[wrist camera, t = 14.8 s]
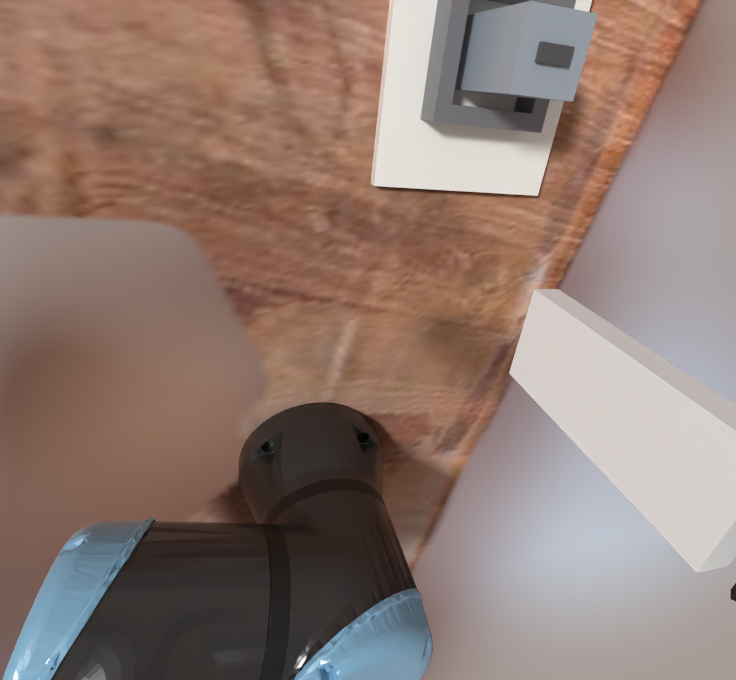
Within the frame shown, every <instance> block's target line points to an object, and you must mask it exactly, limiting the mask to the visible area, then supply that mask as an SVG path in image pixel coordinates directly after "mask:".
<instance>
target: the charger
mask: <svg viewBox="0 0 736 680" xmlns="http://www.w3.org/2000/svg"><path fill="white" fill-rule="evenodd" d="M597 16H598V14H596V13H591V12H586V11H581V10H576V9H571V8H566V7H561V6H555V5H550V4H545V3H540V2H535V1H527V2H523V3H518V4H514V5H510V6H505V7H501V8H497V9H492V10H488V11H484V12H479V13H475V14H471V15H467V21H466V26H465V32H464V38H463V44H462V49H461V55H460V61H459V67H458V72H457V78H456V84H455V90H462V91H470V92H478V93H486V94H494V95H502V96H512V97H523V98H535V99H546V100H558V101H569V102H573V100H574V96H575V93H576V89H577V86H578V82H579V79H580V75H581V72H582V68H583V65H584V61H585V58H586V54H587V51H588V47H589V44H590V40H591V37H592V33H593V30H594V26H595V23H596V19H597Z"/></svg>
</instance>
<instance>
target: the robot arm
mask: <svg viewBox="0 0 736 680" xmlns="http://www.w3.org/2000/svg"><path fill="white" fill-rule="evenodd" d="M509 374H510V375H511V376H512V377H513V378H514V379H515V380H516V381H517V382H518V383H519V384H520V385H521V386H522V387H523V388H524V389H525V391H526V392H527V393H528V394H529V395H530V396H531V397H532V398H533V399H534V400H535V401H536V402H537V403H538V404H539V405H540V407H541V408H542V409H543V410H544V411H545V412H546V413H547V414H548V415H549V416H550V417H551V418H552V419H553V420H554V421H555V422H556V423H557V425H559V427H560V428H561V429H562V430H563V431H564V432H565V433H566V434H567V435H568V436H569V437H570V438H571V439H572V441H573V442H574V443H575V444H576V445H577V446H578V447H579V448H580V449H581V450H582V451H583V452H584V453H585V454H586V455H587V456H588V458H590V459H591V461H592V462H593V463H594V464H595V465H596V466H597V467H598V468H599V469H600V470H601V471H602V472H603V473H604V475H606V477H607V478H608V479H609V480H610V481H611V482H612V483H613V484H614V485H615V486H616V487H617V488H618V489H619V490H620V491H621V492H622V494H623V495H624V496H625V497H626V498H627V499H628V500H629V501H630V502H631V503H632V504H633V505H634V506H635V507H636V508H637V509H638V511H639V512H640V513H641V514H642V515H643V516H644V517H645V518H646V519H647V520H648V521H649V522H650V523H651V524H652V526H654V528H655V529H656V530H657V531H658V532H659V533H660V534H661V535H662V536H663V537H664V538H665V539H666V540H667V541H668V543H669V544H670V545H671V546H672V547H673V548H674V549H675V550H676V551H677V552H678V553H679V554H680V555H681V556H682V557H683V558H684V560H685V561H687V563H688V564H689V565H690V566H691V567H692V568H693V569H694V570H695V571H696V572H697V573H699V572H703V571H708V570H712V569H716V568H720V567H725V566H728V565H729V564H730V562H731V561H732V560H733V559H734V557H735V556H736V405H734V404H733V403H731V402H730V401H728V400H727V399H725V398H724V397H722V396H721V395H719V394H717V393H716V392H714V391H713V390H711V389H710V388H708V387H707V386H705V385H704V384H702V383H701V382H699V381H698V380H696V379H694V378H693V377H692V376H690V375H688V374H687V373H685V372H684V371H682V370H681V369H679V368H678V367H676V366H675V365H673V364H672V363H670V362H669V361H667V360H665V359H664V358H662V357H661V356H659V355H658V354H656V353H655V352H653V351H652V350H650V349H649V348H647V347H646V346H644V345H642V344H641V343H639V342H638V341H636V340H635V339H633V338H632V337H630V336H629V335H627V334H626V333H624V332H623V331H621V330H620V329H618V328H617V327H615V326H613V325H612V324H610V323H609V322H607V321H606V320H604V319H603V318H601V317H600V316H598V315H597V314H595V313H594V312H592V311H590V310H589V309H588V308H586V307H584V306H583V305H581V304H580V303H578V302H577V301H575V300H574V299H572V298H571V297H569V296H568V295H566V294H564V293H563V292H562V291H560V290H558V289H535V290H534V293H533V296H532V299H531V303H530V306H529V309H528V313H527V316H526V319H525V322H524V326H523V329H522V332H521V336H520V339H519V342H518V345H517V349H516V352H515V355H514V359H513V362H512V365H511V368H510V372H509ZM239 484H240V489H241V492H242V495H243V498H244V500H245V502H246V504H247V505H248V507H249V509H250V511H251V513H252V515H253V517H254V519H255V521H256V523H200V522H164V521H163V522H162V521H155V518H147V519H146V520H143V521H108V522H97V523H93V524H90V525H88V526H86V527H84V528H82V529H80V530H79V531H78V532H76V533H75V534H74V535H73V536H72V537H71V538H70V539H69V540H68V542H67V543H66V544H65V546H64V547H63V549H62V550H61V552H60V553H59V555H58V556H57V558H56V560H55V562H54V563H53V565H52V567H51V569H50V571H49V573H48V575H47V577H46V579H45V581H44V583H43V585H42V587H41V589H40V591H39V593H38V595H37V598H36V600H35V602H34V604H33V606H32V608H31V610H30V613H29V615H28V617H27V620H26V622H25V624H24V627H23V629H22V631H21V634H20V636H19V638H18V641H17V643H16V646H15V648H14V651H13V653H12V656H11V659H10V661H9V664H8V666H7V669H6V672H5V674H4V677H3V680H421V679H422V677H423V676H424V674H425V672H426V670H427V668H428V666H429V664H430V660H431V657H432V650H433V642H432V636H431V632H430V629H429V625H428V622H427V618H426V615H425V611H424V608H423V604H422V596H421V593H420V592H419V591H418V590H417V588H416V585H415V583H414V580H413V577H412V575H411V572H410V570H409V567H408V564H407V562H406V559H405V556H404V554H403V551H402V548H401V546H400V543H399V540H398V538H397V535H396V532H395V530H394V527H393V524H392V522H391V519H390V516H389V514H388V511H387V509H386V506H385V503H384V501H383V498H382V496H383V453H382V448H381V445H380V442H379V440H378V437H377V435H376V432H375V430H374V428H373V426H372V425H371V424H370V422H369V421H368V420H367V419H366V418H365V417H364V416H362V415H361V414H360V413H358V412H356V411H355V410H353V409H350V408H348V407H345V406H341V405H337V404H330V403H313V404H306V405H301V406H297V407H293V408H290V409H287V410H285V411H282V412H280V413H278V414H276V415H274V416H273V417H271V418H269V419H268V420H266V421H265V422H264V423H262V424H261V425H260V426H259V427H258V428H257V429H256V430H255V431H254V432H253V433H252V434H251V435H250V437H249V438H248V439H247V441H246V442H245V444H244V446H243V448H242V451H241V454H240V458H239ZM731 599H732V600H734V601H736V584H735V585H734V586H733V588H732V589H731Z"/></svg>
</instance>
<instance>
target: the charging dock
mask: <svg viewBox="0 0 736 680" xmlns="http://www.w3.org/2000/svg"><path fill="white" fill-rule="evenodd" d="M527 1H535V2H540V3H545V4H550V5H555V6H561V7H566V8H571V9H576V10H581V11H586V12H589V10H590V6H591V3H592V0H390V2H389V12H388V22H387V31H386V41H385V50H384V60H383V69H382V79H381V88H380V98H379V108H378V117H377V127H376V136H375V146H374V155H373V165H372V175H371V184H372V185H373V186H382V187H399V188H415V189H432V190H449V191H466V192H483V193H500V194H516V195H533V196H538V193H539V190H540V186H541V182H542V179H543V175H544V172H545V168H546V164H547V161H548V157H549V154H550V150H551V146H552V143H553V139H554V136H555V132H556V129H557V125H558V121H559V118H560V114H561V111H562V107H563V103H564V101H558V100H546V99H535V98H523V97H512V96H502V95H494V94H486V93H478V92H470V91H462V90H455V84H456V78H457V72H458V67H459V61H460V55H461V49H462V44H463V38H464V32H465V26H466V21H467V15H471V14H475V13H479V12H484V11H488V10H492V9H497V8H501V7H505V6H510V5H514V4H518V3H523V2H527Z"/></svg>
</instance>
